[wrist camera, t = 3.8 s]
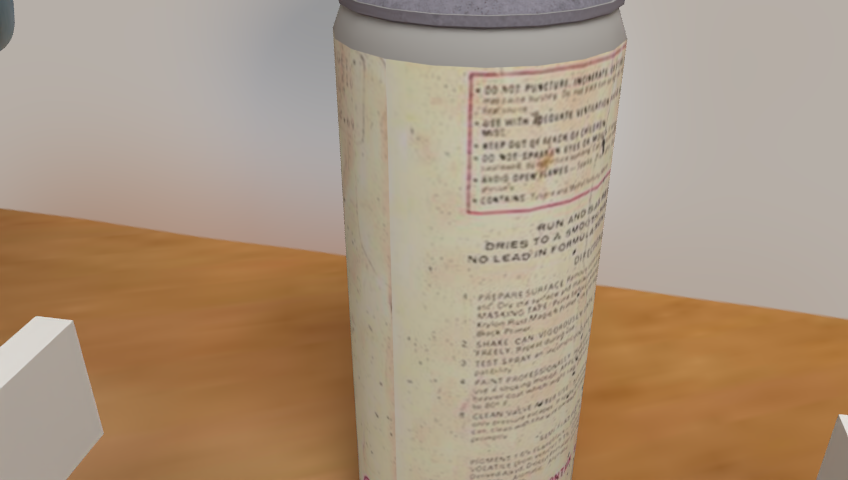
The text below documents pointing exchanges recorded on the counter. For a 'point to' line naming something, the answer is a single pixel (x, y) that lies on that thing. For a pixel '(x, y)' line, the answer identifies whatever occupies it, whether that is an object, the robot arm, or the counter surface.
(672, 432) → the counter surface
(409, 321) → the aerosol can
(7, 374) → the robot arm
